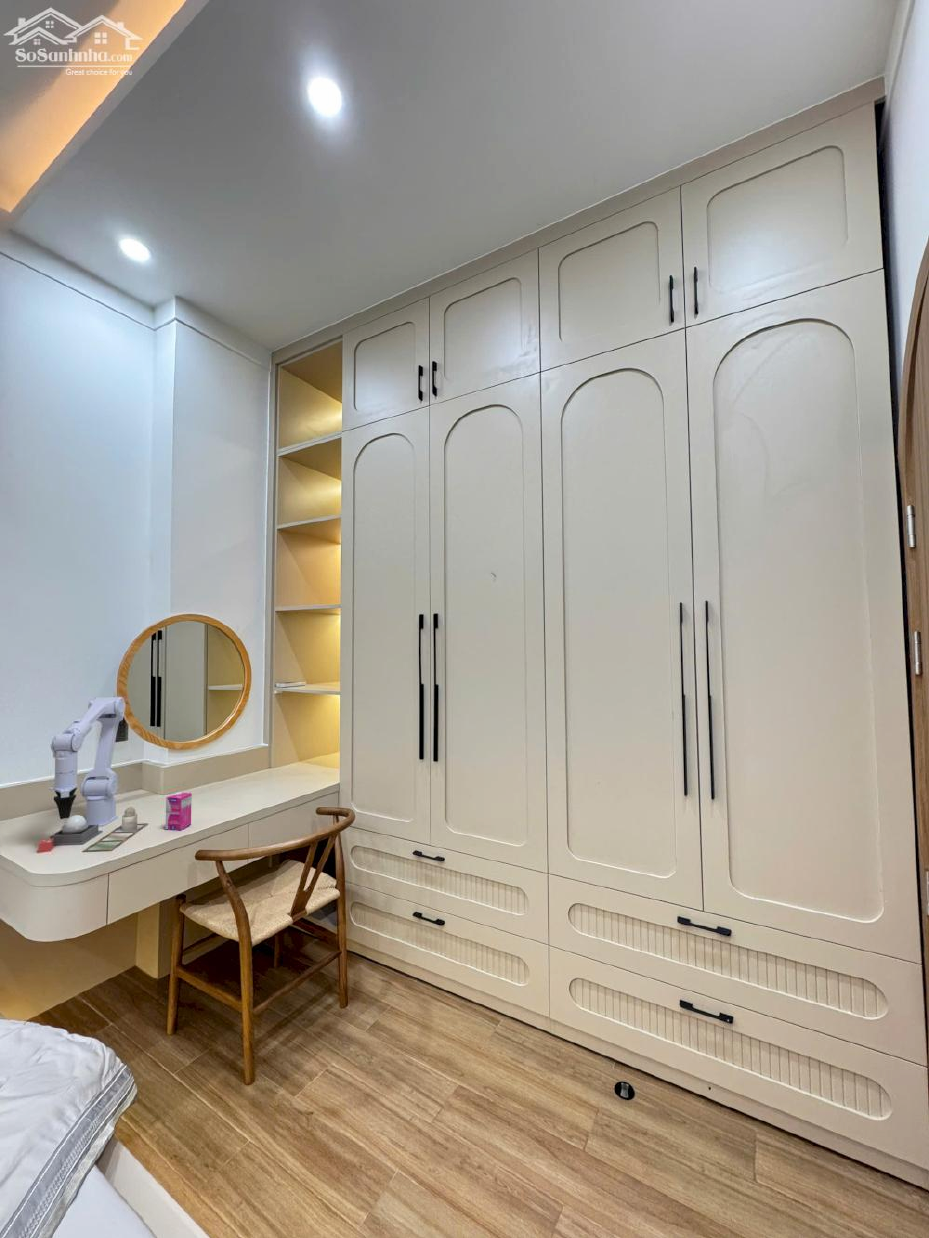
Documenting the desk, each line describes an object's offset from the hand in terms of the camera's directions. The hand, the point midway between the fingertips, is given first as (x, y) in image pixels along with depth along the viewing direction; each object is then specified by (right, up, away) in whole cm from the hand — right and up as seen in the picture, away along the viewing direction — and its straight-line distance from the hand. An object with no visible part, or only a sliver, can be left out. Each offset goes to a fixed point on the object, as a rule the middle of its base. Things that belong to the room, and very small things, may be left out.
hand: (65, 814), depth 166 cm
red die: (-2, -9, -5) cm, 11 cm away
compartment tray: (+13, -10, +6) cm, 17 cm away
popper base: (0, -10, +4) cm, 11 cm away
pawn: (+12, -10, +13) cm, 20 cm away
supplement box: (+28, -10, +15) cm, 33 cm away
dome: (0, -8, +5) cm, 9 cm away
